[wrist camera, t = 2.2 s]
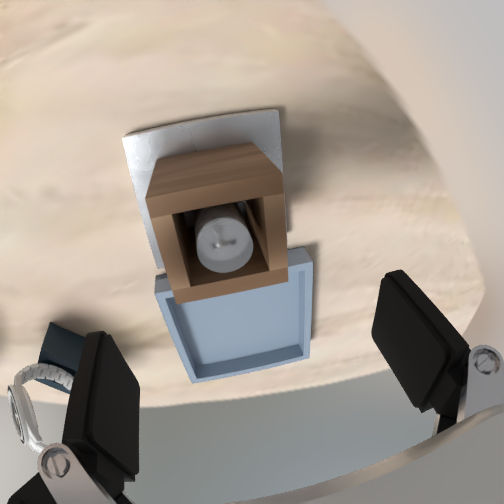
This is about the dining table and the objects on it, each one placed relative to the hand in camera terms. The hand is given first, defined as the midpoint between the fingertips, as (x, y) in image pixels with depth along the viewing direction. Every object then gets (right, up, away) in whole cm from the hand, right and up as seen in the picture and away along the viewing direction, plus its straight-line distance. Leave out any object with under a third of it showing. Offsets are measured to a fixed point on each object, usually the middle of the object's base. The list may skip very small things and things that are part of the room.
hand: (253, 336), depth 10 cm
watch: (-18, -6, +14) cm, 24 cm away
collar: (-2, +6, +9) cm, 11 cm away
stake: (-3, +7, +9) cm, 12 cm away
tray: (-1, -3, +16) cm, 16 cm away
